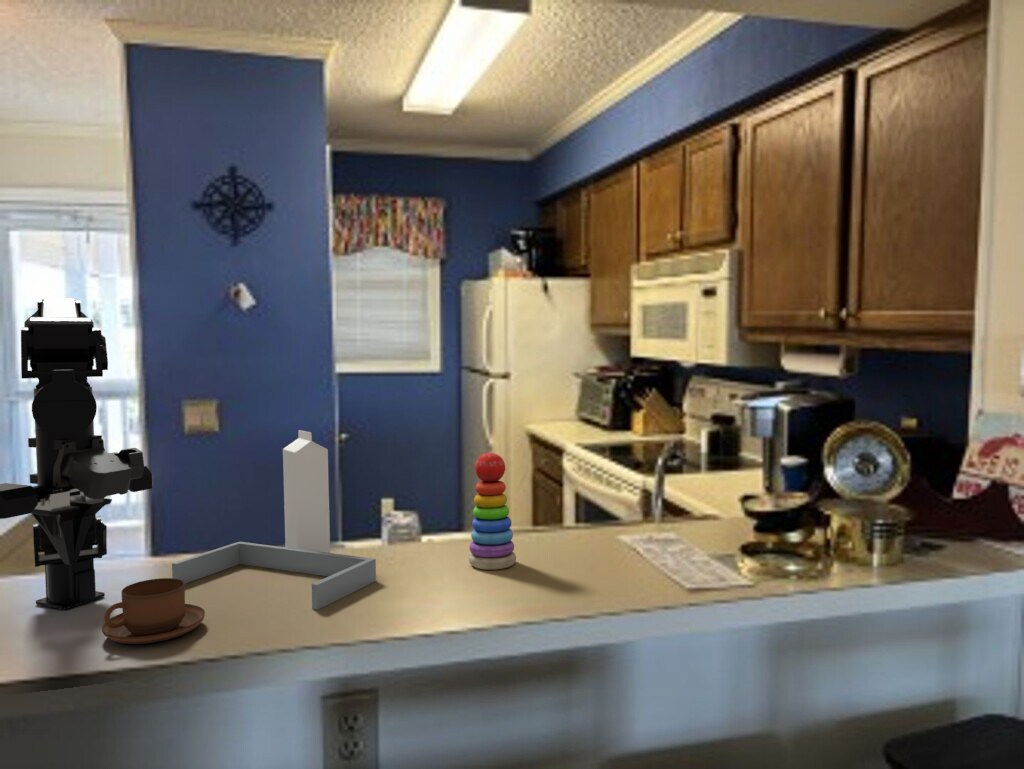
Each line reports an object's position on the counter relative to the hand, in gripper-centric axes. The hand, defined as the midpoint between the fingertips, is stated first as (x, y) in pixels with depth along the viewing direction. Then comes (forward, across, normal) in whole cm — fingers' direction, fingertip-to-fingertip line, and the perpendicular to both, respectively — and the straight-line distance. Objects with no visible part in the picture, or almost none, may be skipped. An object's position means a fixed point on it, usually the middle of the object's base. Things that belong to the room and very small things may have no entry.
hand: (70, 563), depth 86 cm
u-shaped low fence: (+12, +32, 0) cm, 34 cm away
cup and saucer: (+12, +11, 0) cm, 17 cm away
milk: (+12, +48, +6) cm, 50 cm away
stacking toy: (+12, +55, -27) cm, 62 cm away
